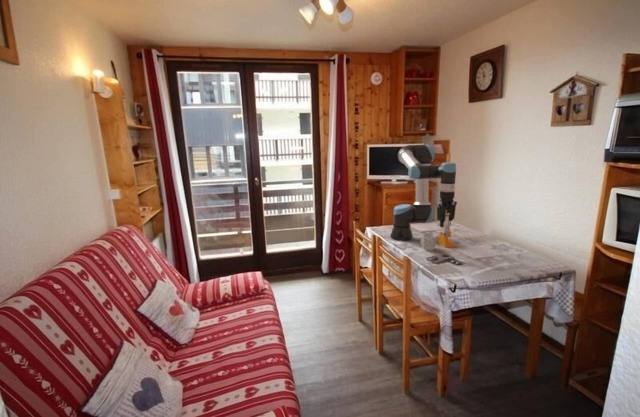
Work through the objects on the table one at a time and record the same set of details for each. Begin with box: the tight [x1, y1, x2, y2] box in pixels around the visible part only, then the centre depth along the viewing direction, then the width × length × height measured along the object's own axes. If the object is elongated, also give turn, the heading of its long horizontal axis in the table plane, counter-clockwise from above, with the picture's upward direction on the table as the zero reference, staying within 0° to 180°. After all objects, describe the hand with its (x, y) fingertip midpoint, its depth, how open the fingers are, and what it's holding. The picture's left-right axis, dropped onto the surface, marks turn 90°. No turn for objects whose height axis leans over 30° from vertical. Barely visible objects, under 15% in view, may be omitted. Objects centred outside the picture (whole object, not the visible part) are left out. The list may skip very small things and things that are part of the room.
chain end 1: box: [426, 252, 456, 265], centre depth 182 cm, size 15×7×2 cm, turn 115°
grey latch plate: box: [444, 256, 467, 267], centre depth 181 cm, size 15×7×2 cm, turn 25°
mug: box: [420, 233, 437, 252], centre depth 201 cm, size 11×8×10 cm
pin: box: [442, 211, 450, 236], centre depth 180 cm, size 4×4×13 cm
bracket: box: [437, 229, 457, 248], centre depth 206 cm, size 11×7×12 cm, turn 3°
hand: (445, 231), depth 181 cm, fingers closed on pin, 3 cm apart
